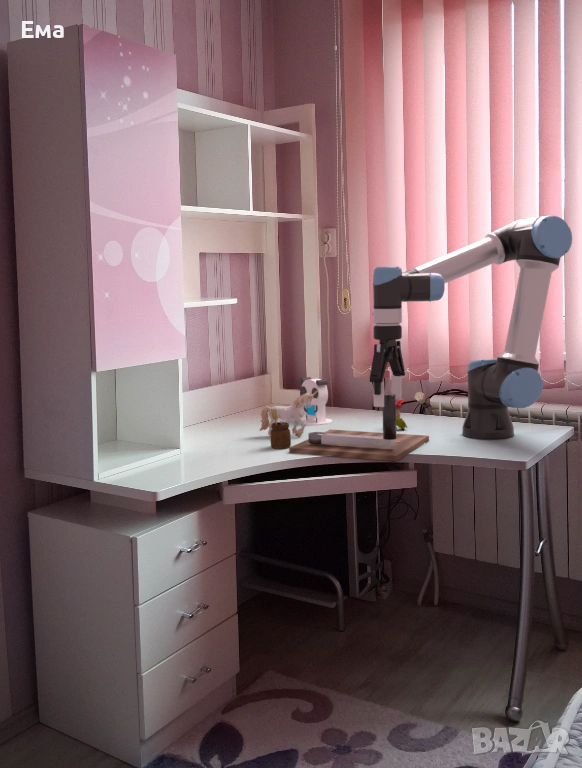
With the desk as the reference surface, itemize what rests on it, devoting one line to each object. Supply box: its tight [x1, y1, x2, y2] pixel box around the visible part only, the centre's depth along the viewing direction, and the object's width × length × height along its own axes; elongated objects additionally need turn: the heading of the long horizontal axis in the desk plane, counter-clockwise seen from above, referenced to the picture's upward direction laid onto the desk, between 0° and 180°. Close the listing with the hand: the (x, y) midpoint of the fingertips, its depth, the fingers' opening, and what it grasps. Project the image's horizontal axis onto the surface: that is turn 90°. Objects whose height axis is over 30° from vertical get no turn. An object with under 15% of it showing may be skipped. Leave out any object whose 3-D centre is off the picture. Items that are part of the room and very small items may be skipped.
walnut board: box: [288, 429, 430, 462], centre depth 231 cm, size 32×28×2 cm
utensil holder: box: [269, 408, 292, 450], centre depth 233 cm, size 6×6×12 cm
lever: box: [308, 393, 397, 449], centre depth 222 cm, size 26×5×14 cm, turn 62°
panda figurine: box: [299, 376, 333, 426], centre depth 272 cm, size 12×11×15 cm
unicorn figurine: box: [259, 390, 318, 438], centre depth 249 cm, size 7×20×13 cm, turn 101°
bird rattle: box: [396, 398, 408, 430], centre depth 256 cm, size 6×11×9 cm
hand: (387, 403), depth 216 cm, fingers open, 13 cm apart
